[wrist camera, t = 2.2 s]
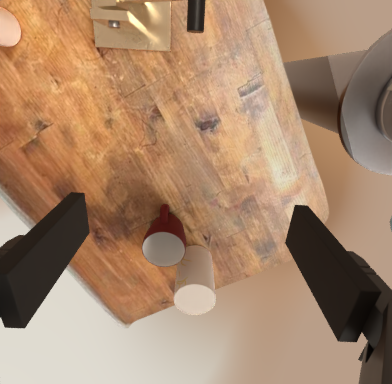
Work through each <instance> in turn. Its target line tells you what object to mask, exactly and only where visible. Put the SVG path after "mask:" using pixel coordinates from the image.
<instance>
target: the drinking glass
mask: <svg viewBox="0 0 392 384" xmlns="http://www.w3.org/2000/svg"><path fill="white" fill-rule="evenodd" d="M20 37H21V28H20V25H19V23H18V21H17V19H16V18H15V16H14V15H13V14H12V13H11V12H9V11H8V10H6V9H5V8H2V7H0V46H5V47H11V46H14V45H16V44H17V43H18V42H19V40H20Z"/></svg>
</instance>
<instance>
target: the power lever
mask: <svg viewBox="0 0 392 384" xmlns="http://www.w3.org/2000/svg"><path fill="white" fill-rule="evenodd" d="M165 1H181V0H97V7H99V8H102V9H107V10H122V11H129V4H131V3H148V2H165ZM204 16H205V0H188V14H187V31H188V32H191V33H203V32H204Z"/></svg>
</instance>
